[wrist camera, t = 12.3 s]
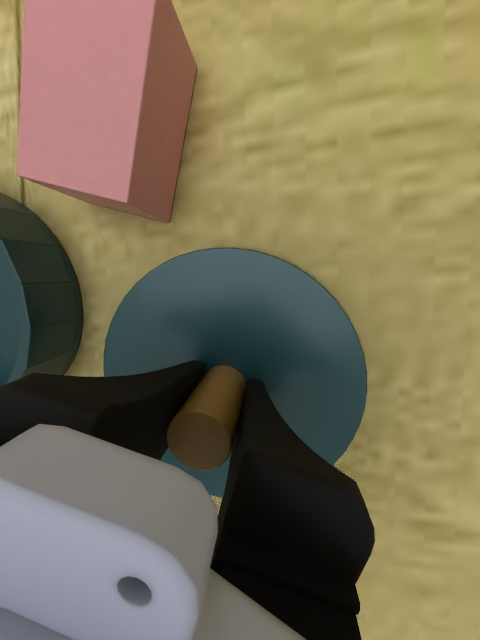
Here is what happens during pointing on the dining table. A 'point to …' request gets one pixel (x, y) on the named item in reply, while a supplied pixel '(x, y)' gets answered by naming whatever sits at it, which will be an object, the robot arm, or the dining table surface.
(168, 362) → the lid
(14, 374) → the tin
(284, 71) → the dining table surface
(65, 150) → the soap
